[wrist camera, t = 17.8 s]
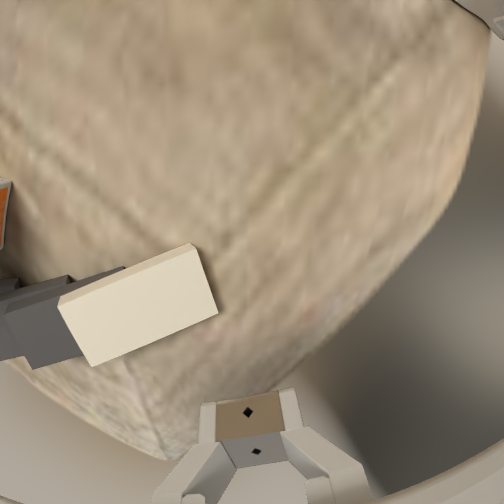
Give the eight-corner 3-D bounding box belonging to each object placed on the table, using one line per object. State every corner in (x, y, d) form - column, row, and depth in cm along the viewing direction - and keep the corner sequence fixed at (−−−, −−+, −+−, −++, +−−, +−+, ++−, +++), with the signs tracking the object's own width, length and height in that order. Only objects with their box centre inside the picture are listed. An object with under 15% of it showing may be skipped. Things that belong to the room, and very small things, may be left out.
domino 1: (196, 248, 21) (57, 306, 17) (218, 312, 22) (91, 367, 19) (189, 242, 22) (60, 296, 19) (210, 303, 24) (91, 354, 21)
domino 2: (124, 274, 21) (3, 314, 17) (145, 334, 23) (32, 369, 19) (123, 266, 22) (8, 304, 19) (142, 323, 24) (35, 357, 21)
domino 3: (65, 282, 21) (-36, 311, 17) (86, 339, 22) (-11, 363, 19) (68, 274, 22) (-29, 302, 19) (87, 328, 24) (-6, 352, 20)
